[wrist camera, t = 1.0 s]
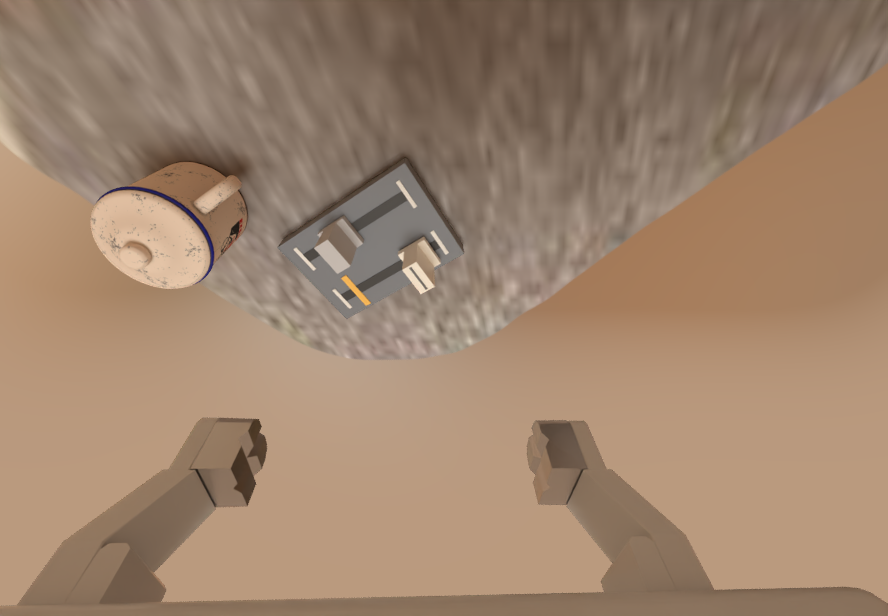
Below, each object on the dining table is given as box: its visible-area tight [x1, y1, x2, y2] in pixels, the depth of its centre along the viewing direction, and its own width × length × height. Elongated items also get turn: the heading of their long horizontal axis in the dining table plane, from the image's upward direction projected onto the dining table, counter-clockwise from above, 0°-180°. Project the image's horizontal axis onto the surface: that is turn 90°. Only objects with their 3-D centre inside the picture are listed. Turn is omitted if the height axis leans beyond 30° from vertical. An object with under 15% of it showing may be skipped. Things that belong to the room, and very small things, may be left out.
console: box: [277, 157, 464, 319], centre depth 39 cm, size 16×11×7 cm
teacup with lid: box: [91, 162, 247, 289], centre depth 34 cm, size 12×9×12 cm
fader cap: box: [398, 237, 441, 294], centre depth 38 cm, size 3×3×5 cm
